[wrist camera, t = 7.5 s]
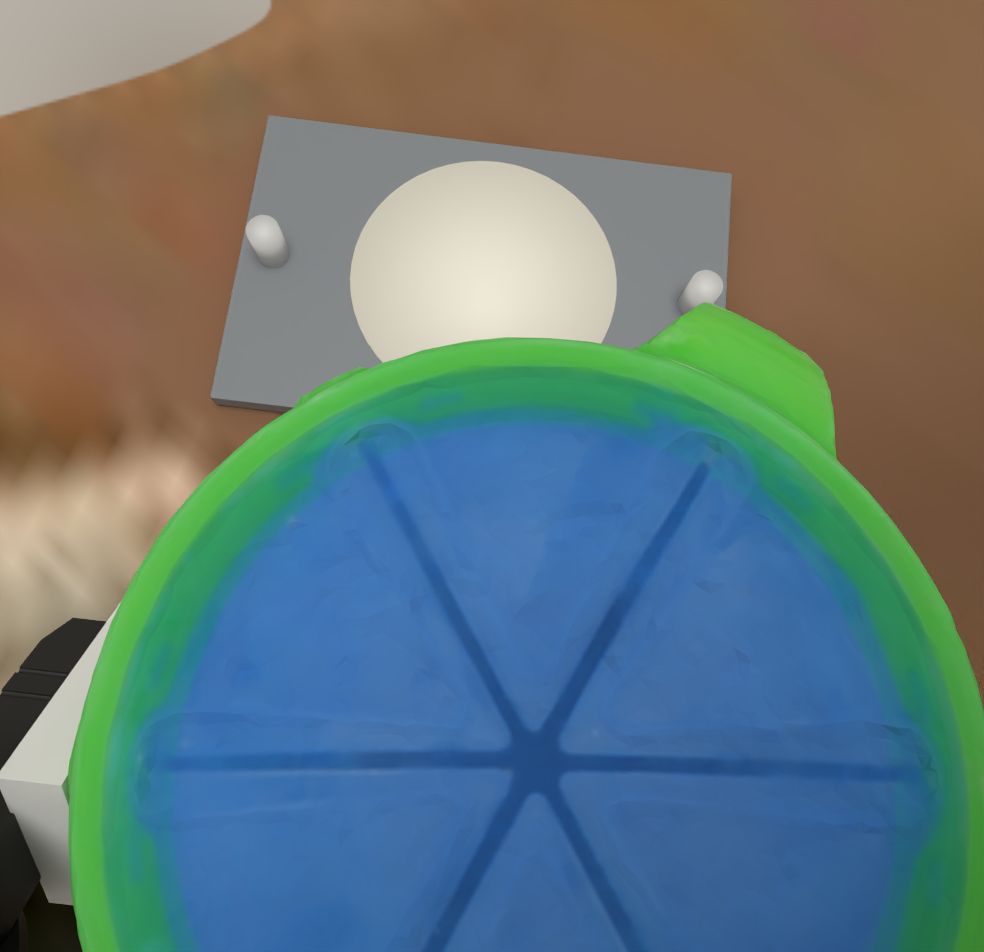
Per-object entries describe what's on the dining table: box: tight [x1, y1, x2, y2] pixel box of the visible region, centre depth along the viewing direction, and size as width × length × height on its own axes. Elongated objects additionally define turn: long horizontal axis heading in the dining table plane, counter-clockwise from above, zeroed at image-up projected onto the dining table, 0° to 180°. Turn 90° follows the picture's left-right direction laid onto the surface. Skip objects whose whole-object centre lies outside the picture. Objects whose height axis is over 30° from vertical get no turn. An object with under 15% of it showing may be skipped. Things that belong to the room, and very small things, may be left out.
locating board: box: [210, 115, 732, 413], centre depth 32 cm, size 22×14×3 cm, turn 84°
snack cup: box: [68, 302, 984, 952], centre depth 13 cm, size 16×10×10 cm
